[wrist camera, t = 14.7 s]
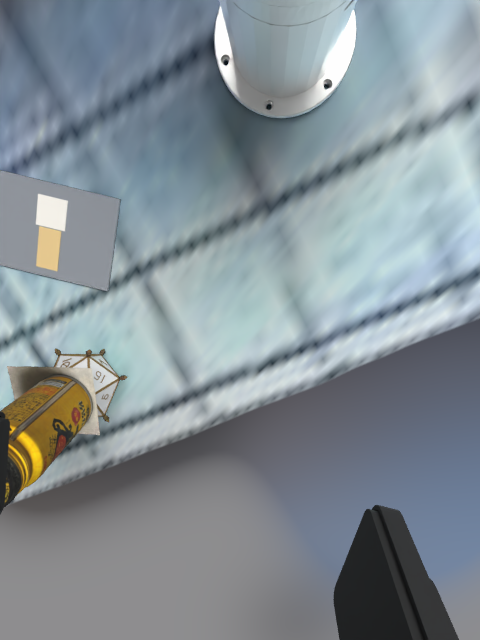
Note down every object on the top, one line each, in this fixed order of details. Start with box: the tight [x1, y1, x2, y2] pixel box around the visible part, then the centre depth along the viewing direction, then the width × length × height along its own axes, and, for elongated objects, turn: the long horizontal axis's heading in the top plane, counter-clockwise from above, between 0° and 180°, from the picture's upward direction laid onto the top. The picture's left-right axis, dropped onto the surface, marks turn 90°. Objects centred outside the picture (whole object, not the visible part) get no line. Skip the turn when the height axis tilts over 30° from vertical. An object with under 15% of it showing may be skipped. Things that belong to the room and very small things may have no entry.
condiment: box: [1, 366, 100, 507], centre depth 33 cm, size 7×8×12 cm
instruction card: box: [0, 170, 121, 291], centre depth 42 cm, size 10×14×1 cm
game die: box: [54, 349, 127, 422], centre depth 43 cm, size 9×8×10 cm
